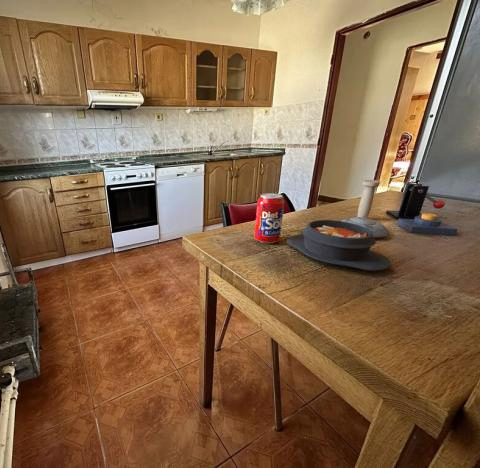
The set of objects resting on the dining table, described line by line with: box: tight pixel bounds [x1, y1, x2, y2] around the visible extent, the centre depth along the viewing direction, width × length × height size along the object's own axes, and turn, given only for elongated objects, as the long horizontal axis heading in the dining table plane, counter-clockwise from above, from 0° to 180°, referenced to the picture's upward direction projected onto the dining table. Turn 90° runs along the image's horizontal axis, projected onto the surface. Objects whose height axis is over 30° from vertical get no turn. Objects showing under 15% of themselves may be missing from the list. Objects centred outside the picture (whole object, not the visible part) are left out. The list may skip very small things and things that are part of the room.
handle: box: [356, 179, 381, 218], centre depth 98 cm, size 5×6×15 cm
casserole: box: [286, 219, 392, 272], centre depth 71 cm, size 25×19×8 cm
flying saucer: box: [340, 216, 390, 239], centre depth 87 cm, size 15×15×6 cm
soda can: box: [253, 192, 286, 245], centre depth 81 cm, size 8×8×15 cm
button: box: [421, 212, 438, 220], centre depth 87 cm, size 4×4×2 cm
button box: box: [396, 216, 459, 236], centre depth 88 cm, size 12×9×4 cm
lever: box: [409, 185, 446, 210], centre depth 98 cm, size 13×3×3 cm
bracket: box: [385, 183, 430, 221], centre depth 100 cm, size 11×9×13 cm
